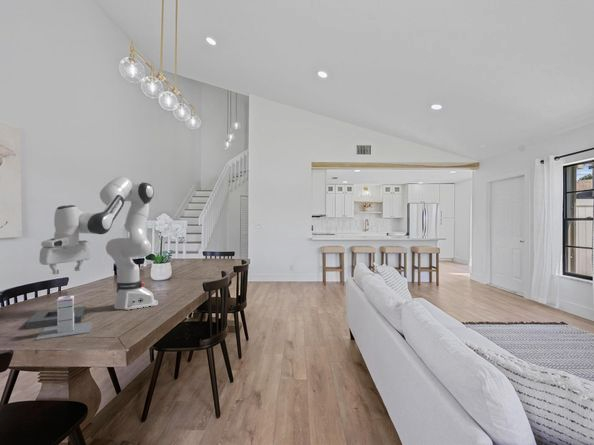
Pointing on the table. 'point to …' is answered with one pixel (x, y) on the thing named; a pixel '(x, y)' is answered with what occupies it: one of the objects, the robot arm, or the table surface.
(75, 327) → the grey mat
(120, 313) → the table surface
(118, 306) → the robot arm
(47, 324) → the holder block
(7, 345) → the table surface
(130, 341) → the table surface
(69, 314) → the syrup box
